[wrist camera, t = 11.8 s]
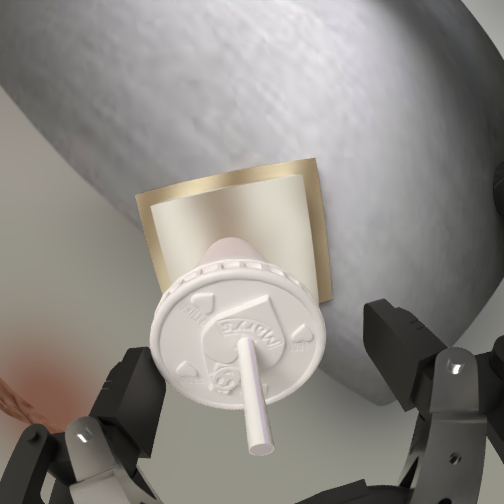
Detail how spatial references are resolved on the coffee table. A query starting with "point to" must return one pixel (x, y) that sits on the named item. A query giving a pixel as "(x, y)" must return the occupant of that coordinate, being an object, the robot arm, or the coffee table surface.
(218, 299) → the smoothie
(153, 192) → the base
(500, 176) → the travel mug
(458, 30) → the coffee table surface
